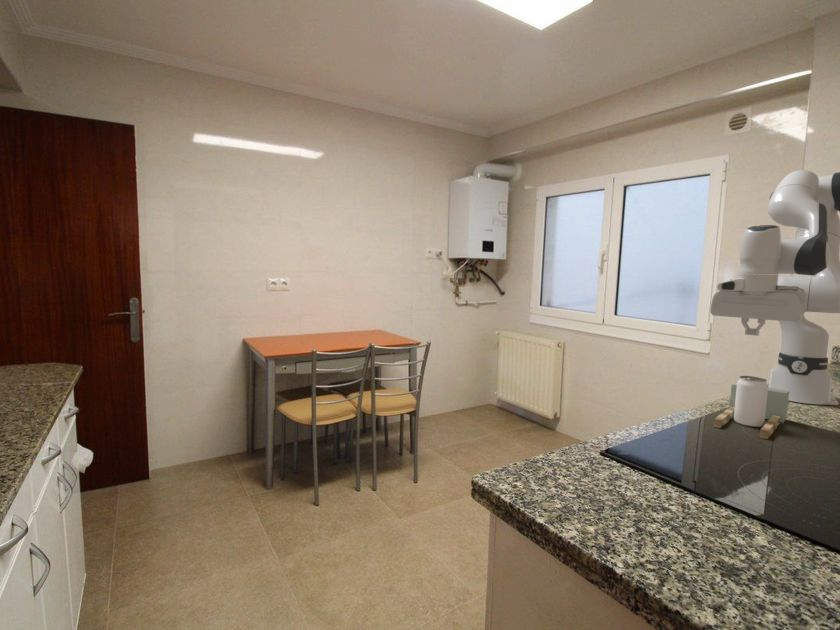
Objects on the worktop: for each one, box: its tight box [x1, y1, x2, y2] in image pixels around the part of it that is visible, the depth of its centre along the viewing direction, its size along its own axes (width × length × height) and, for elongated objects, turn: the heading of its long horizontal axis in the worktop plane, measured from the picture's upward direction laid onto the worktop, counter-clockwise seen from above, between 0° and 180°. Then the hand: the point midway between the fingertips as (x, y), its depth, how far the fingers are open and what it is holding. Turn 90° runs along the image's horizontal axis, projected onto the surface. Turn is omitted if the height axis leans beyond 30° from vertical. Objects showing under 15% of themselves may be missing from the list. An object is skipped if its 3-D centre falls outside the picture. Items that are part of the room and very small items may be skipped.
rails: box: [712, 406, 781, 440], centre depth 114 cm, size 17×11×2 cm, turn 133°
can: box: [733, 375, 769, 428], centre depth 115 cm, size 6×6×12 cm
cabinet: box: [729, 381, 789, 424], centre depth 122 cm, size 5×12×8 cm, turn 43°
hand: (751, 335), depth 123 cm, fingers closed
